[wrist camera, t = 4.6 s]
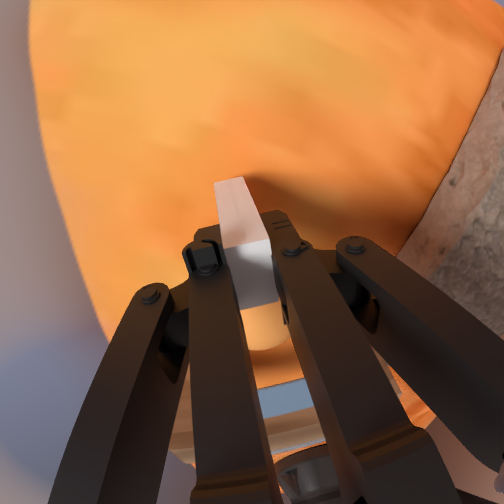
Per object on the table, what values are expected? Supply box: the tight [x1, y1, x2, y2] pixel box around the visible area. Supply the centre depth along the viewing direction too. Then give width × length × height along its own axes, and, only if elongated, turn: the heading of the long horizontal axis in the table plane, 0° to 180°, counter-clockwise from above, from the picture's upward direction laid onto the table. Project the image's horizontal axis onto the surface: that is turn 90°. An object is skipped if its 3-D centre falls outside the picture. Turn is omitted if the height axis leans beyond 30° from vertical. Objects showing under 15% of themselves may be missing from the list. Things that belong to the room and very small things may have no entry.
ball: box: [240, 295, 291, 350], centre depth 18 cm, size 6×6×6 cm
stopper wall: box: [271, 437, 325, 455], centre depth 35 cm, size 1×10×2 cm, turn 99°
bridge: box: [169, 345, 402, 464], centre depth 20 cm, size 3×14×9 cm, turn 99°
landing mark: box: [257, 378, 314, 419], centre depth 31 cm, size 12×12×1 cm
